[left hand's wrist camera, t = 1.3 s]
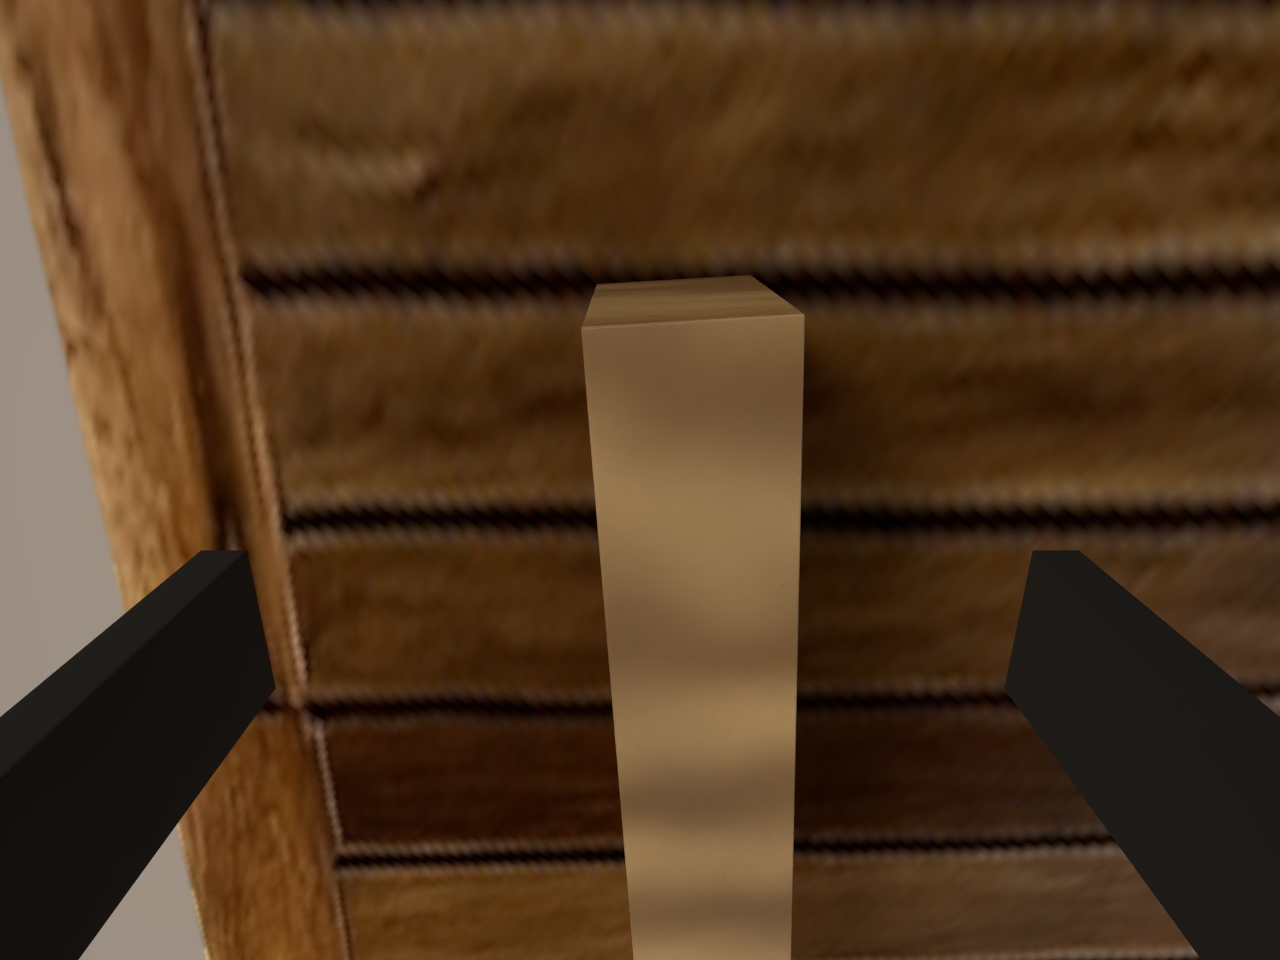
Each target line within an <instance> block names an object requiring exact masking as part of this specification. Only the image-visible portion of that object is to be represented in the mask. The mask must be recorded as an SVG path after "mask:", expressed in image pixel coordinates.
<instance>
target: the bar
mask: <svg viewBox="0 0 1280 960" xmlns="http://www.w3.org/2000/svg"><path fill="white" fill-rule="evenodd" d="M581 335H582V347H583V359H584V371H585V383H586V395H587V407H588V419H589V431H590V443H591V455H592V467H593V479H594V491H595V503H596V515H597V527H598V539H599V551H600V563H601V575H602V587H603V599H604V611H605V622H606V634H607V646H608V658H609V670H610V682H611V694H612V706H613V718H614V730H615V742H616V754H617V766H618V778H619V790H620V802H621V814H622V826H623V838H624V850H625V862H626V874H627V886H628V898H629V910H630V922H631V934H632V946H633V958H634V960H791V934H792V888H793V843H794V797H795V752H796V706H797V660H798V615H799V569H800V523H801V478H802V432H803V387H804V341H805V315H804V314H803V313H802V312H801V311H799V310H798V309H796V308H795V307H794V306H792V305H791V304H790V303H788V302H787V301H785V300H784V299H783V298H781V297H780V296H779V295H777V294H776V293H774V292H773V291H772V290H770V289H769V288H768V287H766V286H765V285H763V284H762V283H761V282H759V281H758V280H756V279H755V278H754V277H752V276H751V275H746V276H729V277H712V278H695V279H678V280H661V281H644V282H627V283H610V284H597V286H596V288H595V291H594V294H593V297H592V300H591V302H590V305H589V308H588V311H587V314H586V316H585V319H584V322H583V325H582V328H581Z"/></svg>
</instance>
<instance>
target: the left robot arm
mask: <svg viewBox="0 0 1280 960" xmlns="http://www.w3.org/2000/svg"><path fill="white" fill-rule="evenodd" d="M274 690H275V683H274V678H273V673H272V668H271V664H270V659H269V654H268V649H267V644H266V639H265V635H264V630H263V625H262V620H261V615H260V611H259V606H258V601H257V596H256V591H255V587H254V582H253V577H252V572H251V567H250V562H249V558H248V553H247V551H200V552H199V553H198V554H196V555H195V556H194V557H193V558H192V559H190V560H189V561H188V562H187V563H186V564H184V565H183V566H182V567H181V568H180V569H178V570H177V571H176V572H175V573H174V574H172V575H171V576H170V577H169V578H167V579H166V580H165V581H164V582H163V583H161V584H160V585H159V586H158V587H157V588H155V589H154V590H153V591H152V592H151V593H149V594H148V595H147V596H146V597H145V598H143V599H142V600H141V601H140V602H139V603H137V604H136V605H135V606H134V607H133V608H131V609H130V610H129V611H128V612H126V613H125V614H124V615H123V616H122V617H120V618H119V619H118V620H117V621H116V622H114V623H113V624H112V625H111V626H110V627H108V628H107V629H106V630H105V631H104V632H102V633H101V634H100V635H99V636H98V637H96V638H95V639H94V640H93V641H92V642H90V643H89V644H88V645H87V646H85V647H84V648H83V649H82V650H81V651H79V652H78V653H77V654H76V655H75V656H73V657H72V658H71V659H70V660H69V661H67V662H66V663H65V664H64V665H63V666H61V667H60V668H59V669H58V670H57V671H55V672H54V673H53V674H52V675H51V676H49V677H48V678H47V679H46V680H44V681H43V682H42V683H41V684H40V685H38V686H37V687H36V688H35V689H34V690H32V691H31V692H30V693H29V694H28V695H26V696H25V697H24V698H23V699H22V700H20V701H19V702H18V703H17V704H16V705H14V706H13V707H12V708H11V709H10V710H8V711H7V712H6V713H5V714H3V715H2V716H1V717H0V960H78V959H79V958H80V957H81V955H82V954H83V953H84V951H85V950H86V949H87V947H88V946H89V944H90V943H91V942H92V940H93V939H94V938H95V936H96V935H97V933H98V932H99V931H100V929H101V928H102V927H103V925H104V924H105V922H106V921H107V920H108V918H109V917H110V915H111V914H112V913H113V911H114V910H115V909H116V907H117V906H118V904H119V903H120V902H121V900H122V899H123V898H124V896H125V895H126V893H127V892H128V891H129V889H130V888H131V887H132V885H133V884H134V882H135V881H136V880H137V878H138V877H139V876H140V874H141V873H142V871H143V870H144V869H145V867H146V866H147V865H148V863H149V862H150V860H151V859H152V858H153V856H154V855H155V854H156V852H157V851H158V849H159V848H160V847H161V845H162V844H163V843H164V841H165V840H166V838H167V837H168V836H169V834H170V833H171V831H172V830H173V829H174V827H175V826H176V825H177V823H178V822H179V821H180V819H181V818H182V816H183V815H184V814H185V812H186V811H187V810H188V808H189V807H190V805H191V804H192V803H193V801H194V800H195V799H196V797H197V796H198V794H199V793H200V792H201V790H202V789H203V788H204V786H205V785H206V783H207V782H208V781H209V779H210V778H211V776H212V775H213V774H214V772H215V771H216V770H217V768H218V767H219V765H220V764H221V763H222V761H223V760H224V759H225V757H226V756H227V754H228V753H229V752H230V750H231V749H232V748H233V746H234V745H235V743H236V742H237V741H238V739H239V738H240V737H241V735H242V734H243V732H244V731H245V730H246V728H247V727H248V726H249V724H250V723H251V721H252V720H253V719H254V717H255V716H256V715H257V713H258V712H259V710H260V709H261V708H262V706H263V705H264V704H265V702H266V701H267V699H268V698H269V697H270V695H271V694H272V693H273V691H274ZM1005 690H1006V691H1007V693H1008V694H1009V695H1010V697H1011V698H1012V699H1013V701H1014V702H1015V704H1016V705H1017V706H1018V708H1019V709H1020V710H1021V712H1022V713H1023V715H1024V716H1025V717H1026V719H1027V720H1028V721H1029V723H1030V724H1031V726H1032V727H1033V728H1034V730H1035V731H1036V732H1037V734H1038V735H1039V737H1040V738H1041V739H1042V741H1043V742H1044V743H1045V745H1046V746H1047V748H1048V749H1049V750H1050V752H1051V753H1052V754H1053V756H1054V757H1055V759H1056V760H1057V761H1058V763H1059V764H1060V765H1061V767H1062V768H1063V770H1064V771H1065V772H1066V774H1067V775H1068V776H1069V778H1070V779H1071V781H1072V782H1073V783H1074V785H1075V786H1076V788H1077V789H1078V790H1079V792H1080V793H1081V794H1082V796H1083V797H1084V799H1085V800H1086V801H1087V803H1088V804H1089V805H1090V807H1091V808H1092V810H1093V811H1094V812H1095V814H1096V815H1097V816H1098V818H1099V819H1100V821H1101V822H1102V823H1103V825H1104V826H1105V827H1106V829H1107V830H1108V832H1109V833H1110V834H1111V836H1112V837H1113V838H1114V840H1115V841H1116V843H1117V844H1118V845H1119V847H1120V848H1121V849H1122V851H1123V852H1124V854H1125V855H1126V856H1127V858H1128V859H1129V860H1130V862H1131V863H1132V865H1133V866H1134V867H1135V869H1136V870H1137V871H1138V873H1139V874H1140V876H1141V877H1142V878H1143V880H1144V881H1145V882H1146V884H1147V885H1148V887H1149V888H1150V889H1151V891H1152V892H1153V893H1154V895H1155V896H1156V898H1157V899H1158V900H1159V902H1160V903H1161V904H1162V906H1163V907H1164V909H1165V910H1166V911H1167V913H1168V914H1169V916H1170V917H1171V918H1172V920H1173V921H1174V922H1175V924H1176V925H1177V927H1178V928H1179V929H1180V931H1181V932H1182V933H1183V935H1184V936H1185V938H1186V939H1187V940H1188V942H1189V943H1190V944H1191V946H1192V947H1193V949H1194V950H1195V951H1196V953H1197V954H1198V955H1199V957H1200V958H1201V960H1280V717H1279V716H1278V715H1277V714H1275V713H1274V712H1273V711H1272V710H1270V709H1269V708H1268V707H1267V706H1266V705H1264V704H1263V703H1262V702H1261V701H1260V700H1258V699H1257V698H1256V697H1255V696H1254V695H1252V694H1251V693H1250V692H1249V691H1248V690H1246V689H1245V688H1244V687H1243V686H1242V685H1240V684H1239V683H1238V682H1237V681H1236V680H1234V679H1233V678H1232V677H1231V676H1229V675H1228V674H1227V673H1226V672H1225V671H1223V670H1222V669H1221V668H1220V667H1219V666H1217V665H1216V664H1215V663H1214V662H1213V661H1211V660H1210V659H1209V658H1208V657H1207V656H1205V655H1204V654H1203V653H1202V652H1201V651H1199V650H1198V649H1197V648H1196V647H1195V646H1193V645H1192V644H1191V643H1190V642H1188V641H1187V640H1186V639H1185V638H1184V637H1182V636H1181V635H1180V634H1179V633H1178V632H1176V631H1175V630H1174V629H1173V628H1172V627H1170V626H1169V625H1168V624H1167V623H1166V622H1164V621H1163V620H1162V619H1161V618H1160V617H1158V616H1157V615H1156V614H1155V613H1154V612H1152V611H1151V610H1150V609H1149V608H1147V607H1146V606H1145V605H1144V604H1143V603H1141V602H1140V601H1139V600H1138V599H1137V598H1135V597H1134V596H1133V595H1132V594H1131V593H1129V592H1128V591H1127V590H1126V589H1125V588H1123V587H1122V586H1121V585H1120V584H1119V583H1117V582H1116V581H1115V580H1114V579H1113V578H1111V577H1110V576H1109V575H1108V574H1106V573H1105V572H1104V571H1103V570H1102V569H1100V568H1099V567H1098V566H1097V565H1096V564H1094V563H1093V562H1092V561H1091V560H1090V559H1088V558H1087V557H1086V556H1085V555H1084V554H1082V553H1081V552H1080V551H1033V553H1032V558H1031V562H1030V567H1029V572H1028V577H1027V582H1026V587H1025V591H1024V596H1023V601H1022V606H1021V611H1020V615H1019V620H1018V625H1017V630H1016V635H1015V639H1014V644H1013V649H1012V654H1011V659H1010V664H1009V668H1008V673H1007V678H1006V683H1005Z"/></svg>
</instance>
